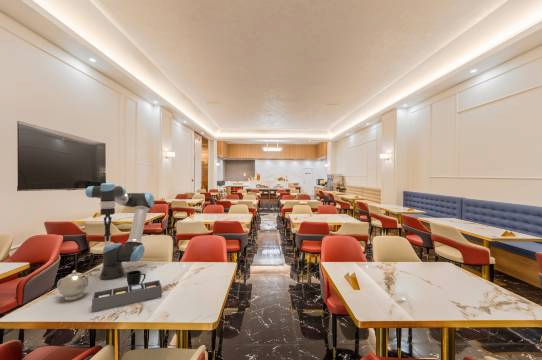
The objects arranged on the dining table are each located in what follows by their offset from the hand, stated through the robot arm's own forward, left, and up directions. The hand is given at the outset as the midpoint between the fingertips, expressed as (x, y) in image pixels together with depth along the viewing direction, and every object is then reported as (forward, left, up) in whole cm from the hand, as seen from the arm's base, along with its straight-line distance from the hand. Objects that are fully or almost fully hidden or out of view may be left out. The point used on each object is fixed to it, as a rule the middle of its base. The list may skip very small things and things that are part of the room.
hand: (107, 245), depth 156 cm
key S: (+18, +15, -26) cm, 35 cm away
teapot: (-4, -18, -30) cm, 35 cm away
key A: (+18, -1, -28) cm, 33 cm away
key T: (+18, +7, -28) cm, 34 cm away
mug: (-1, +16, -30) cm, 34 cm away
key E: (+18, +23, -28) cm, 40 cm away
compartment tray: (+18, +11, -29) cm, 36 cm away
